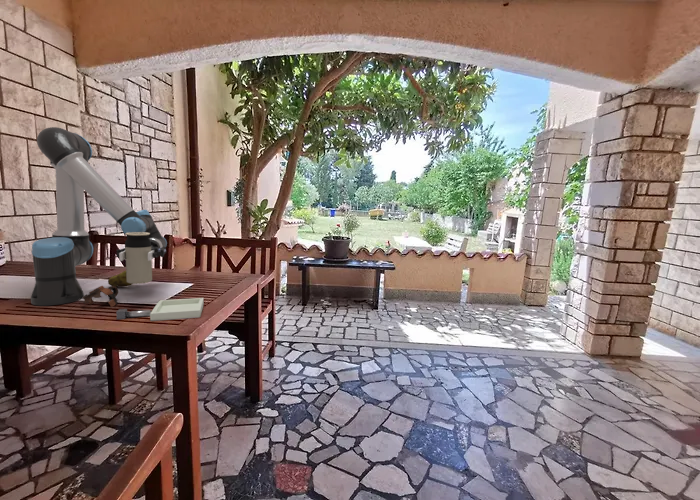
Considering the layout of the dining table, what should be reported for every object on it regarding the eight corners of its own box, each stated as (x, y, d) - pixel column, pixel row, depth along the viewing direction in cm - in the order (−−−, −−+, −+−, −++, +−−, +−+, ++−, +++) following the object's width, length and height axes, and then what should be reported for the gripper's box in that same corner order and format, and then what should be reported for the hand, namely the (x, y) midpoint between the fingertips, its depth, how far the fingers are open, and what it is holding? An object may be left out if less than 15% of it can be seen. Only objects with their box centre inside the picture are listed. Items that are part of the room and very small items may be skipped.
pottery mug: (108, 311, 119) (92, 292, 116) (89, 320, 121) (73, 302, 118) (130, 293, 130) (116, 276, 127) (112, 302, 132) (98, 285, 129)
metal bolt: (116, 319, 109) (116, 311, 109) (119, 316, 112) (118, 309, 112) (149, 317, 113) (148, 309, 112) (151, 314, 115) (150, 307, 115)
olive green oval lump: (123, 283, 153) (122, 266, 152) (145, 286, 150) (144, 268, 149) (105, 287, 146) (104, 269, 144) (128, 290, 142) (127, 272, 141)
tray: (150, 321, 109) (150, 313, 109) (159, 306, 123) (159, 300, 123) (200, 317, 114) (199, 310, 114) (203, 304, 128) (203, 297, 128)
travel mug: (140, 285, 117) (138, 234, 115) (121, 283, 119) (118, 233, 116) (157, 280, 125) (155, 232, 123) (139, 278, 127) (137, 231, 124)
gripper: (178, 256, 141) (168, 267, 120) (121, 256, 135) (100, 268, 113) (178, 239, 140) (167, 246, 119) (120, 238, 134) (99, 246, 112)
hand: (135, 257), depth 116 cm, fingers closed on travel mug, 8 cm apart
